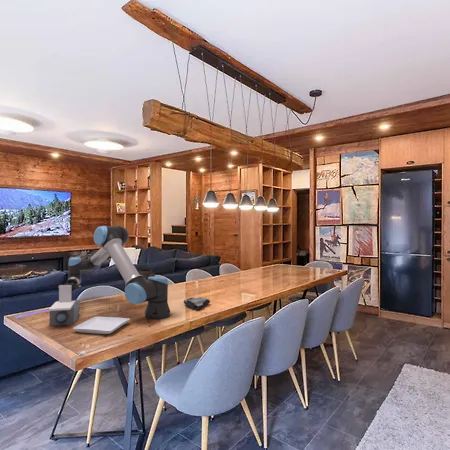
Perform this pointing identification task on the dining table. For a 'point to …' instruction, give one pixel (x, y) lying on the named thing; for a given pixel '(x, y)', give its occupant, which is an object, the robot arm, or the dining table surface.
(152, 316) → the robot arm
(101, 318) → the salad plate
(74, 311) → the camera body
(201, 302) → the dark grey flat lump
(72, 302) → the side cover
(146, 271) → the beer stein
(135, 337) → the dining table surface
